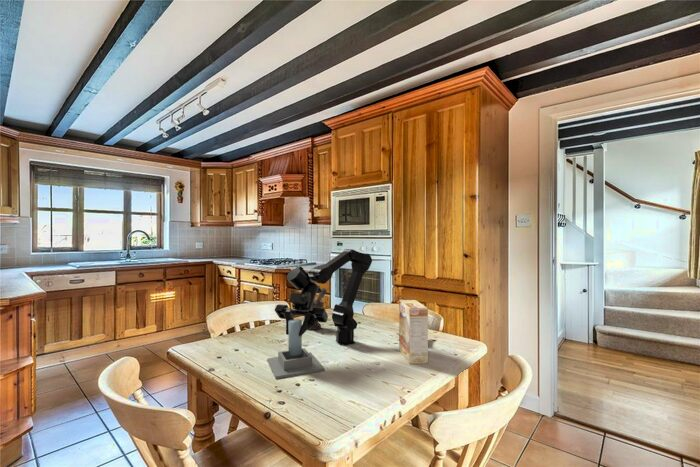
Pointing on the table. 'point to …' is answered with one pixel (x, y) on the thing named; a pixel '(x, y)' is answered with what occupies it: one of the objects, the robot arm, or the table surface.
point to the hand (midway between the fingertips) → (293, 334)
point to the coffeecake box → (413, 331)
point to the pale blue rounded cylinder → (294, 337)
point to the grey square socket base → (294, 364)
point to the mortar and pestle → (318, 303)
